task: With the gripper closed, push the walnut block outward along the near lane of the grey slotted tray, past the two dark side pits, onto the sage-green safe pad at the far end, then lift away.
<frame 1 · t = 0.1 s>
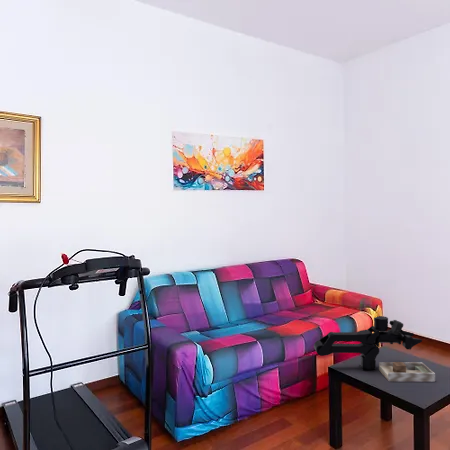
hand: (417, 337, 206), 16 cm above the table, tool horizontal, fingers open, 9 cm apart
walnut block: (399, 372, 195), point 2 cm above the table, touching grey slotted tray
grey slotted tray: (405, 375, 198), on the table
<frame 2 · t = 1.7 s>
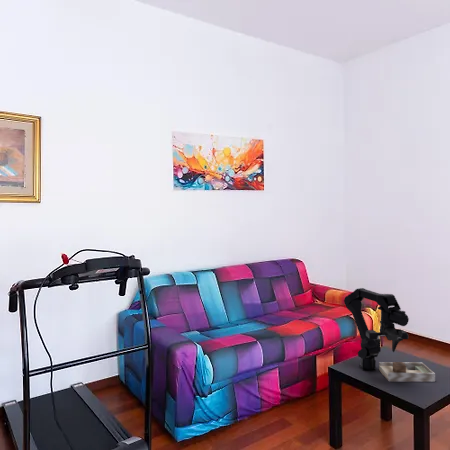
hand: (386, 351, 195), 13 cm above the table, tool pointing down, fingers open, 6 cm apart
nothing on the table moved.
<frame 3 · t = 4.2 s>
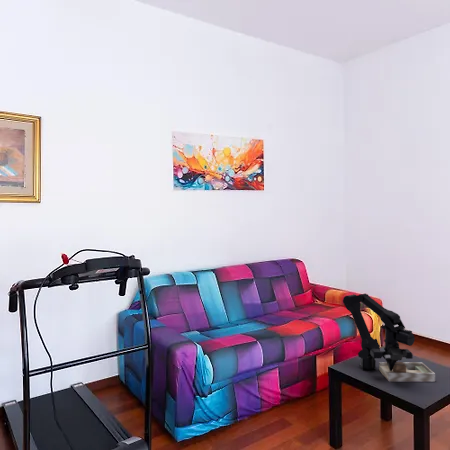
hand: (390, 370, 195), 4 cm above the table, tool pointing down, fingers closed
walnut block: (399, 372, 195), point 3 cm above the table, touching gripper, grey slotted tray
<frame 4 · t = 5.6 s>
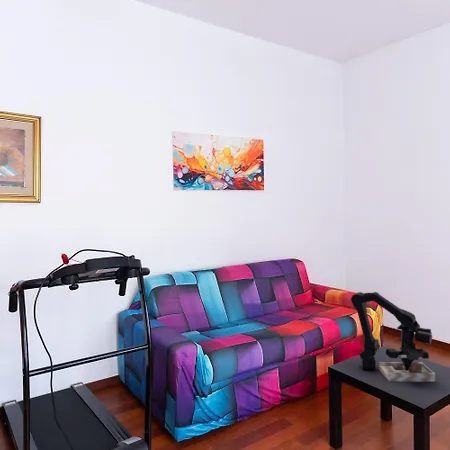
hand: (406, 370, 195), 4 cm above the table, tool pointing down, fingers closed
walnut block: (414, 372, 195), point 3 cm above the table, touching gripper
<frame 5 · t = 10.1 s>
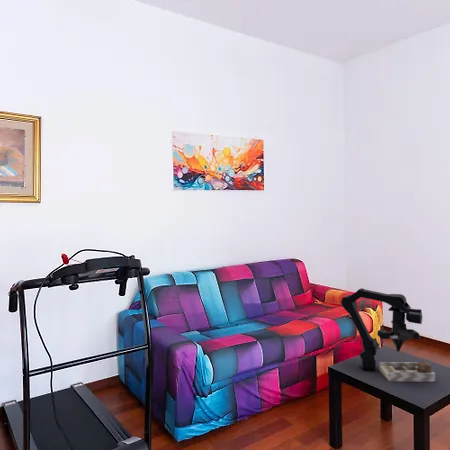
hand: (397, 351, 198), 12 cm above the table, tool pointing down, fingers closed
walnut block: (424, 372, 195), point 2 cm above the table, touching grey slotted tray
at the end: walnut block 0.1 cm from the target spot, point 2.5 cm above the table; walnut block tilted 0° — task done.
